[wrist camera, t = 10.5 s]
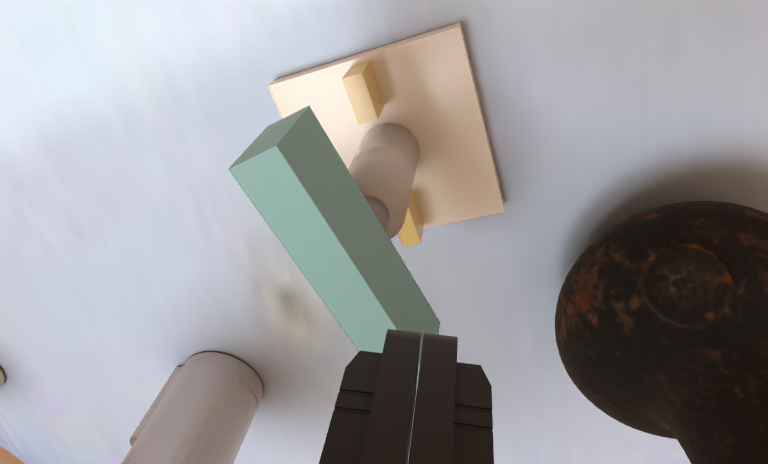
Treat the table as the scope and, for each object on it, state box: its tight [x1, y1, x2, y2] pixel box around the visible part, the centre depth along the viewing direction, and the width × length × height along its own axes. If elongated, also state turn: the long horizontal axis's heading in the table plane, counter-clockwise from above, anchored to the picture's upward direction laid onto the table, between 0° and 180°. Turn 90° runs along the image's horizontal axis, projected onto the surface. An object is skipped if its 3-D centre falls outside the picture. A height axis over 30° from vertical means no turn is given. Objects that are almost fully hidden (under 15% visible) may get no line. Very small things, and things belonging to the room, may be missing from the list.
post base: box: [268, 22, 505, 247], centre depth 36 cm, size 14×14×10 cm
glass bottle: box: [555, 201, 768, 464], centre depth 31 cm, size 18×18×28 cm
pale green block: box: [228, 106, 440, 390], centre depth 28 cm, size 15×3×7 cm, turn 29°
